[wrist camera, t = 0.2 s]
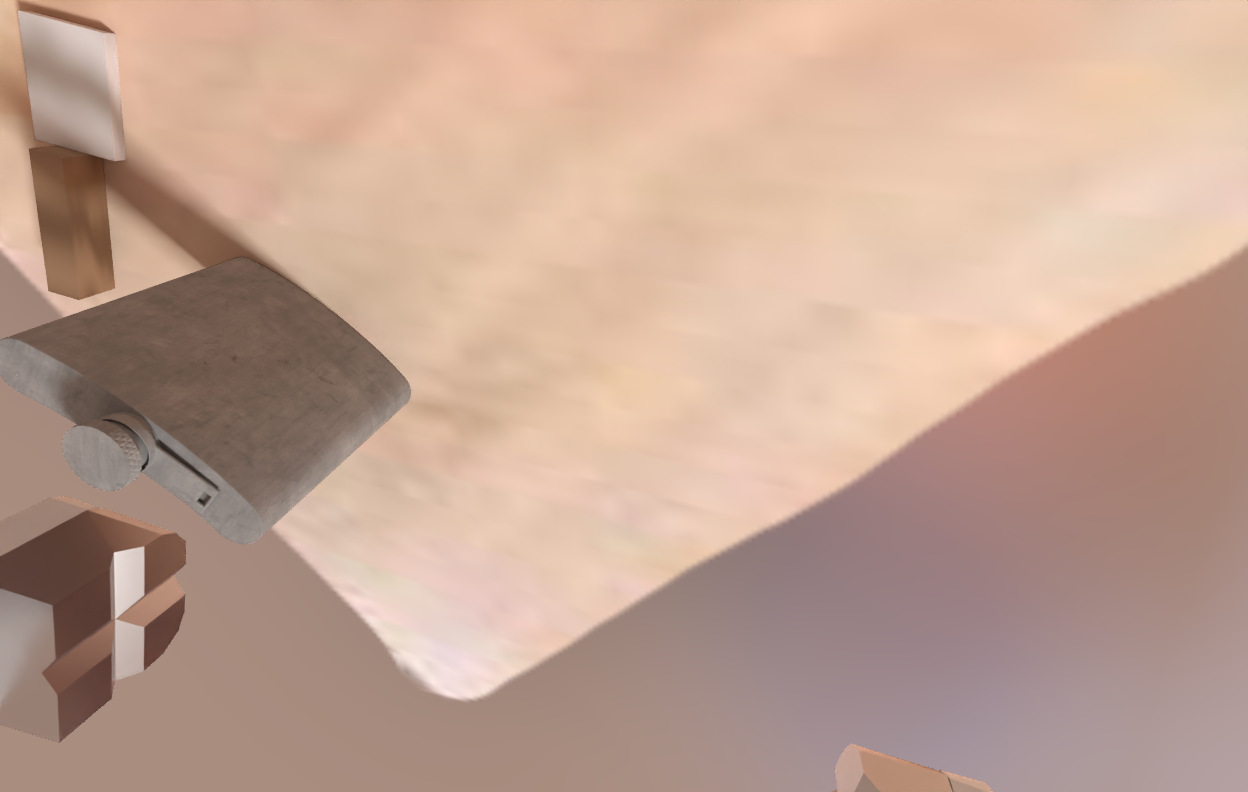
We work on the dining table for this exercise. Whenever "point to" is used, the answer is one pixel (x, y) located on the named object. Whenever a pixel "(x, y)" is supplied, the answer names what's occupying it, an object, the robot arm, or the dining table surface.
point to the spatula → (73, 147)
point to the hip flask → (210, 391)
